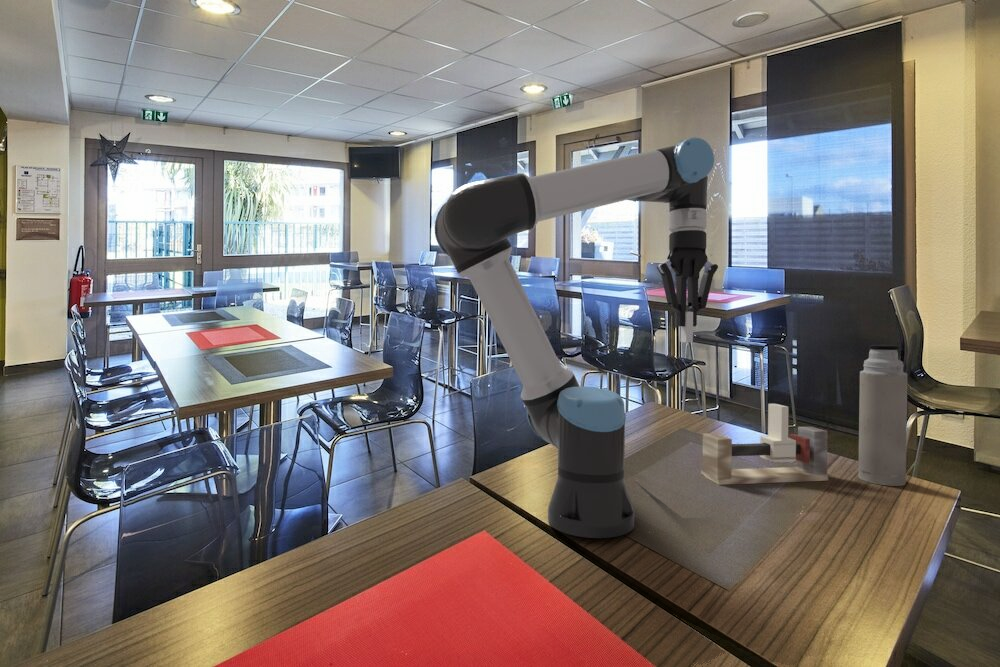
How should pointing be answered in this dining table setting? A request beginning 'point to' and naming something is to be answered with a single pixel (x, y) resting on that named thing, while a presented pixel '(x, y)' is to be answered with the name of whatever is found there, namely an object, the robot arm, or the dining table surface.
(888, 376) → the thermos bottle
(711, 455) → the rail
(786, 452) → the cream t-shaped block
